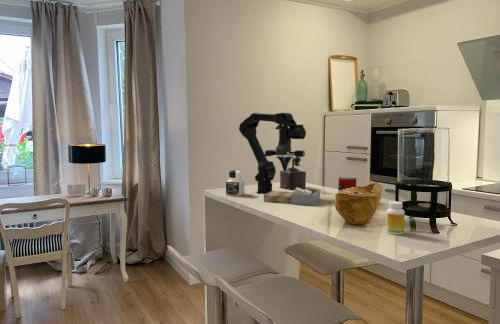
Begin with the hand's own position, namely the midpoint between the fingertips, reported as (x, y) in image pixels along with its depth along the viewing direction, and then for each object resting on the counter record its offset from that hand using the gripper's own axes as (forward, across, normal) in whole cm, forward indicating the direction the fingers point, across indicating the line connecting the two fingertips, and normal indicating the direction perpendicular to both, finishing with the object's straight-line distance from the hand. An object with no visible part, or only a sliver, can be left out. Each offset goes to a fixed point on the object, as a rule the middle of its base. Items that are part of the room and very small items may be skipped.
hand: (284, 171), depth 189 cm
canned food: (+12, +30, -3) cm, 33 cm away
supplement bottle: (+12, +50, -53) cm, 74 cm away
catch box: (+12, +13, -12) cm, 21 cm away
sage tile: (+10, +9, -12) cm, 18 cm away
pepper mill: (+12, 0, +22) cm, 25 cm away
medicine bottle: (+12, -24, -5) cm, 27 cm away
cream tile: (+9, +12, -12) cm, 19 cm away
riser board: (+12, +2, -12) cm, 17 cm away
